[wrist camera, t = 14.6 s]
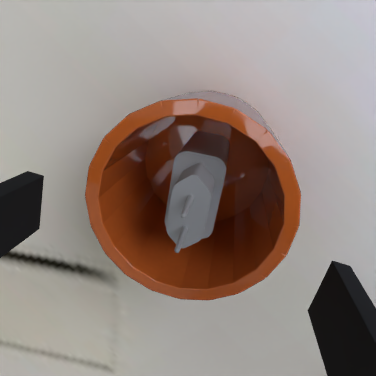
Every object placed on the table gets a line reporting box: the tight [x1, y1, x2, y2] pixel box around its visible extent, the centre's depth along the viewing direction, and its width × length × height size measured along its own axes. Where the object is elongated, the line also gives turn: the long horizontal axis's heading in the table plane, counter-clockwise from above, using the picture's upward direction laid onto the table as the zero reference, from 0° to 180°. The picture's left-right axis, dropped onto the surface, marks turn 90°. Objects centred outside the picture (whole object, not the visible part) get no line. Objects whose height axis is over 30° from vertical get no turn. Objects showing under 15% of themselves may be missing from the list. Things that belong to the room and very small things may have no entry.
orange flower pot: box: [85, 91, 301, 300], centre depth 21 cm, size 12×12×10 cm
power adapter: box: [165, 131, 229, 253], centre depth 20 cm, size 3×5×12 cm, turn 170°
